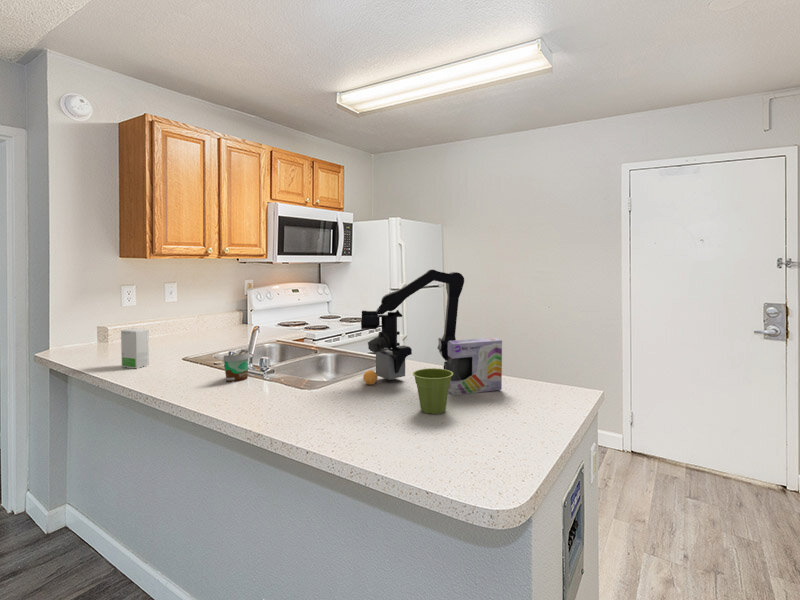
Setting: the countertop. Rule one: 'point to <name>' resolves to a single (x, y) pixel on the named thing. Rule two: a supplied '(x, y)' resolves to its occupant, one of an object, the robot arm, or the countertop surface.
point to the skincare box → (135, 348)
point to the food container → (237, 366)
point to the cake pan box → (475, 365)
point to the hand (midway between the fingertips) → (389, 371)
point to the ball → (370, 377)
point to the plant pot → (433, 389)
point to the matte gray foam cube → (387, 365)
